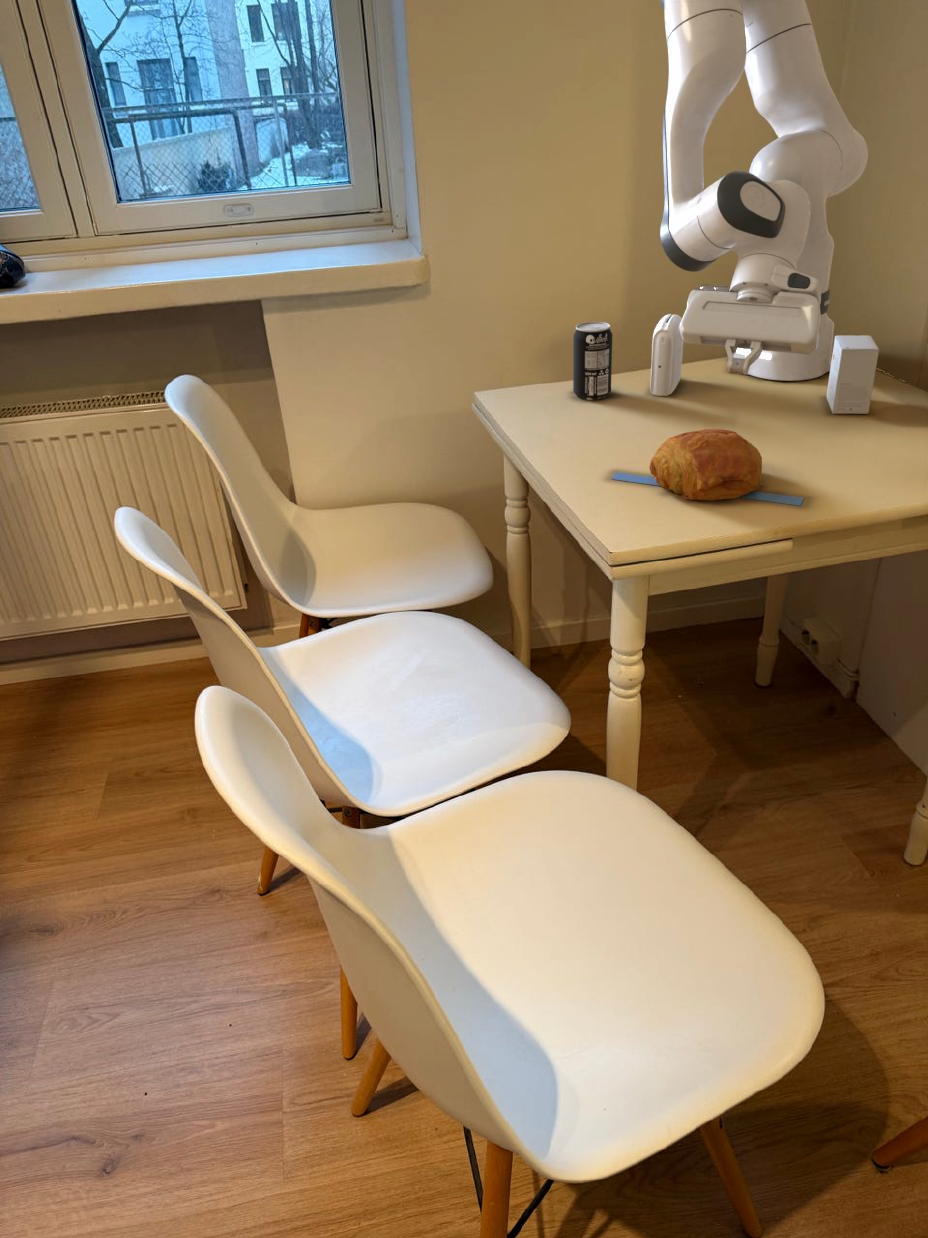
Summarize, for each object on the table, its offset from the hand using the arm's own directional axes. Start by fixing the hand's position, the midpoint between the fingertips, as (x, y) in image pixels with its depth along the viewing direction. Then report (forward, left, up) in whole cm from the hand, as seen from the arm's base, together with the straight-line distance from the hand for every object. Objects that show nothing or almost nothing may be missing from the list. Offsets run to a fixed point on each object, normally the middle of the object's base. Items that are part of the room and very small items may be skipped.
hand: (736, 372), depth 138 cm
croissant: (+17, -6, -11) cm, 20 cm away
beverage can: (-22, -21, -11) cm, 32 cm away
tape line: (+18, -6, -10) cm, 22 cm away
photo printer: (-25, -8, -11) cm, 28 cm away
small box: (-13, +20, -11) cm, 27 cm away
